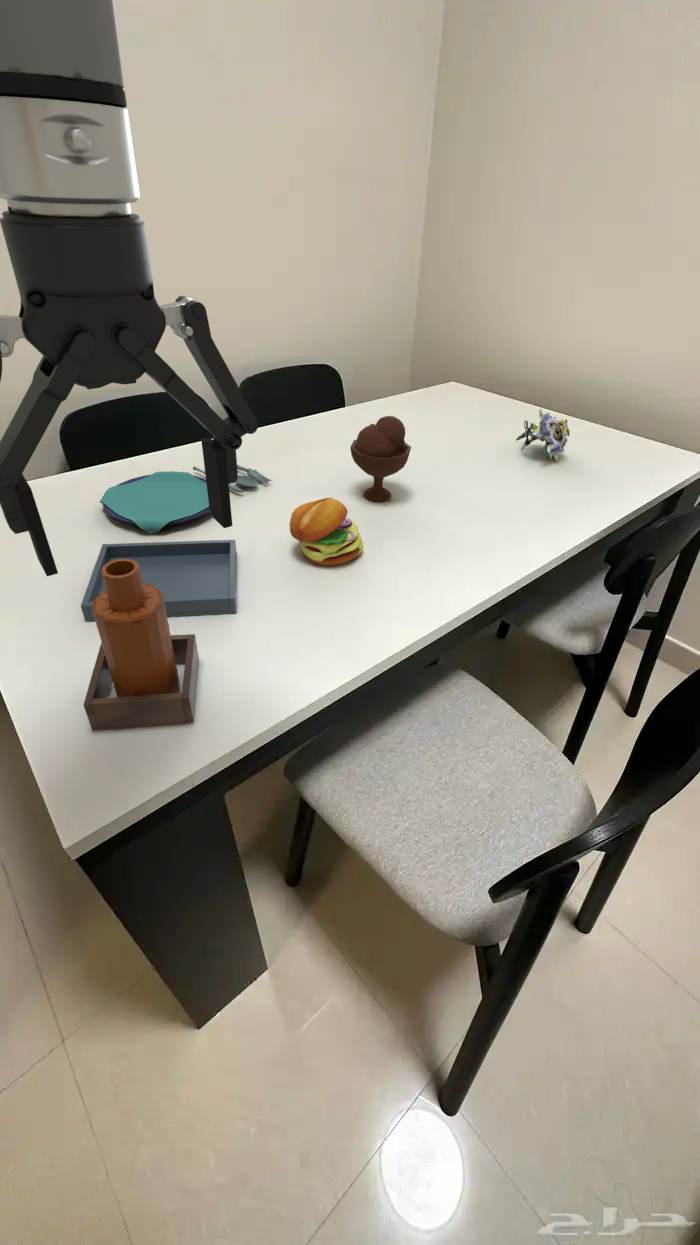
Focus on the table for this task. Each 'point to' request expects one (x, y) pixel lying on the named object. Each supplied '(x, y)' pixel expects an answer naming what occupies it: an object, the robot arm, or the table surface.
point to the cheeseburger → (326, 532)
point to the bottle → (135, 632)
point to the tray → (176, 575)
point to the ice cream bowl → (381, 454)
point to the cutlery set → (165, 498)
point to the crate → (144, 707)
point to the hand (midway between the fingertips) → (140, 542)
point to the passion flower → (547, 435)
